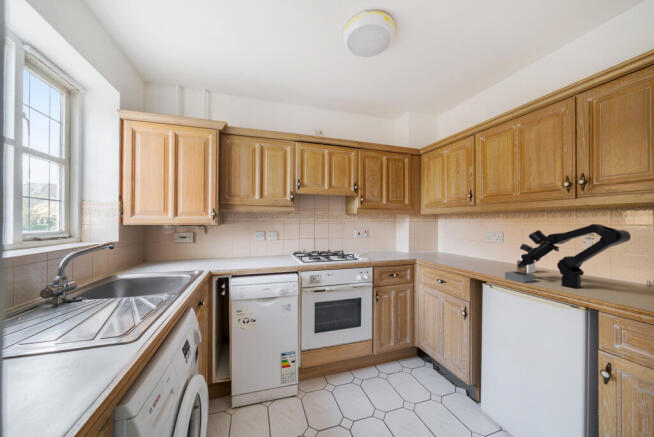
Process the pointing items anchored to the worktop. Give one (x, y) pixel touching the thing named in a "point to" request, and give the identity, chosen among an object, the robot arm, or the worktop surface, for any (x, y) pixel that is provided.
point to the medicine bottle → (529, 266)
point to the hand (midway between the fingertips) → (519, 266)
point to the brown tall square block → (521, 269)
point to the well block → (519, 276)
